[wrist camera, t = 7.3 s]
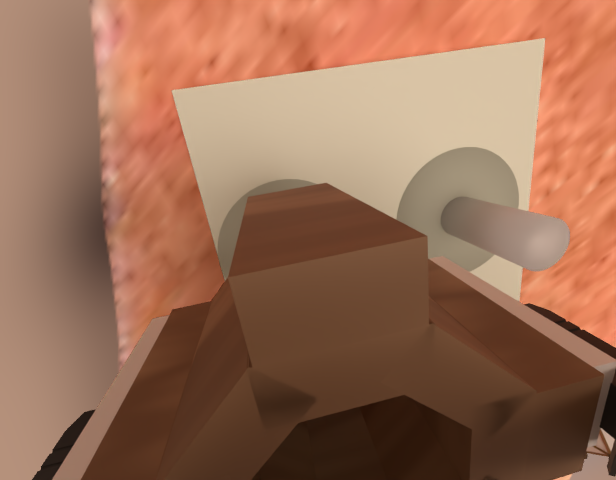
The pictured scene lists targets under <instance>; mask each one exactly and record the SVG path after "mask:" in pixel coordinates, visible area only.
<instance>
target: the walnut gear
mask: <svg viewBox="0 0 616 480" xmlns="http://www.w3.org/2000/svg"><path fill="white" fill-rule="evenodd" d="M603 379H604V374H603V373H601V372H600V371H598V370H597V369H595V368H594V367H592V366H591V365H589V364H588V363H586V362H585V361H583V360H582V359H580V358H578V357H577V356H575V355H574V354H572V353H571V352H569V351H568V350H566V349H565V348H563V347H562V346H560V345H559V344H557V343H556V342H554V341H553V340H551V339H550V338H548V337H547V336H545V335H544V334H542V333H541V332H539V331H538V330H536V329H534V328H533V327H531V326H530V325H528V324H527V323H525V322H524V321H522V320H521V319H519V318H518V317H516V316H515V315H513V314H512V313H510V312H509V311H507V310H506V309H504V308H503V307H501V306H500V305H498V304H497V303H495V302H494V301H492V300H490V299H489V298H487V297H486V296H484V295H483V294H481V293H480V292H478V291H477V290H475V289H474V288H472V287H471V286H469V285H468V284H466V283H465V282H463V281H462V280H460V279H459V278H457V277H456V276H454V275H453V274H451V273H449V272H448V271H446V270H445V269H443V268H442V267H440V266H439V265H437V264H436V263H434V262H433V261H431V260H430V259H428V236H427V235H425V234H423V233H421V232H419V231H417V230H415V229H413V228H411V227H409V226H408V225H406V224H404V223H402V222H400V221H398V220H396V219H394V218H392V217H390V216H389V215H387V214H385V213H383V212H381V211H379V210H377V209H375V208H373V207H372V206H370V205H368V204H366V203H364V202H362V201H360V200H358V199H356V198H354V197H353V196H351V195H349V194H347V193H345V192H343V191H341V190H339V189H337V188H336V187H334V186H332V185H330V184H328V183H322V184H316V185H311V186H305V187H300V188H294V189H289V190H283V191H277V192H272V193H266V194H261V195H255V196H250V197H248V199H247V203H246V207H245V211H244V215H243V219H242V223H241V227H240V231H239V235H238V239H237V243H236V247H235V251H234V255H233V259H232V263H231V267H230V271H229V275H228V278H227V279H226V280H225V282H224V283H223V285H222V286H221V288H220V289H219V291H218V292H217V293H216V295H215V296H214V298H213V299H212V301H211V302H206V303H201V304H197V305H192V306H187V307H183V308H178V309H173V310H172V312H171V314H170V315H169V317H168V319H167V321H166V323H165V325H164V327H163V328H162V330H161V332H160V334H159V336H158V338H157V340H156V341H155V343H154V345H153V347H152V349H151V351H150V352H149V354H148V356H147V358H146V360H145V362H144V364H143V365H142V367H141V369H140V371H139V373H138V375H137V377H136V378H135V380H134V382H133V384H132V386H131V388H130V389H129V391H128V393H127V395H126V397H125V399H124V401H123V402H122V404H121V406H120V408H119V410H118V412H117V414H116V415H115V417H114V419H113V421H112V423H111V425H110V426H109V428H108V430H107V432H106V434H105V436H104V438H103V439H102V441H101V443H100V445H99V447H98V449H97V451H96V452H95V454H94V456H93V458H92V460H91V462H90V463H89V465H88V467H87V469H86V471H85V473H84V475H83V476H82V478H81V480H553V479H556V478H559V477H563V476H566V475H569V474H572V473H575V472H579V471H581V470H582V466H583V462H584V458H585V454H586V450H587V446H588V442H589V437H590V433H591V429H592V425H593V421H594V417H595V412H596V408H597V404H598V400H599V396H600V392H601V388H602V383H603Z"/></svg>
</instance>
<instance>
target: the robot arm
mask: <svg viewBox="0 0 616 480" xmlns="http://www.w3.org/2000/svg"><path fill="white" fill-rule="evenodd" d="M430 260H431V261H433V262H434V263H436V264H437V265H439V266H440V267H442V268H443V269H445V270H446V271H448V272H449V273H451V274H453V275H454V276H456V277H457V278H459V279H460V280H462V281H463V282H465V283H466V284H468V285H469V286H471V287H472V288H474V289H475V290H477V291H478V292H480V293H481V294H483V295H484V296H486V297H487V298H489V299H490V300H492V301H494V302H495V303H497V304H498V305H500V306H501V307H503V308H504V309H506V310H507V311H509V312H510V313H512V314H513V315H515V316H516V317H518V318H519V319H521V320H522V321H524V322H525V323H527V324H528V325H530V326H531V327H533V328H534V329H536V330H538V331H539V332H541V333H542V334H544V335H545V336H547V337H548V338H550V339H551V340H553V341H554V342H556V343H557V344H559V345H560V346H562V347H563V348H565V349H566V350H568V351H569V352H571V353H572V354H574V355H575V356H577V357H578V358H580V359H582V360H583V361H585V362H586V363H588V364H589V365H591V366H592V367H594V368H595V369H597V370H598V371H600V372H601V373H603V374H604V379H603V383H602V388H601V392H600V396H599V400H598V404H597V408H596V412H595V417H594V421H593V425H592V429H591V433H590V437H589V442H588V446H587V448H588V447H592V446H595V445H596V443H597V439H598V436H599V432H600V428H602V429H603V430H604V431H605V432H606V433H608V434H609V435H610V436H611V437H613V438H614V439H615V440H614V444H613V447H612V451H611V454H610V458H609V462H608V465H607V468H608V472H609V475H611V476H615V475H616V348H615V347H613V346H611V345H610V344H608V343H606V342H604V341H603V340H601V339H599V338H597V337H595V336H594V335H592V334H590V333H588V332H587V331H585V330H580V328H579V327H578V326H576V325H574V324H572V323H571V322H569V321H568V322H566V320H565V319H564V318H562V317H560V316H558V315H557V314H555V313H553V312H551V311H549V310H547V309H544V308H541V307H538V306H535V305H533V304H530V303H529V304H522V303H520V302H519V301H517V300H515V299H514V298H512V297H510V296H509V295H507V294H505V293H504V292H502V291H500V290H499V289H497V288H495V287H494V286H492V285H490V284H489V283H487V282H485V281H484V280H482V279H480V278H479V277H477V276H475V275H474V274H472V273H470V272H469V271H467V270H465V269H464V268H462V267H460V266H459V265H457V264H455V263H454V262H452V261H450V260H449V259H447V258H445V257H443V256H440V257H435V258H431V259H430ZM168 317H169V315H167V316H162V317H158V318H153V319H152V321H151V322H150V324H149V325H148V327H147V329H146V330H145V332H144V333H143V335H142V337H141V338H140V340H139V341H138V343H137V345H136V346H135V348H134V349H133V351H132V353H131V354H130V356H129V357H128V359H127V361H126V362H125V364H124V365H123V367H122V369H121V370H120V372H119V373H118V375H117V377H116V378H115V380H114V381H113V383H112V385H111V386H110V388H109V389H108V391H107V393H106V394H105V396H104V397H103V399H102V401H101V403H100V404H99V405H98V407H97V409H96V410H92V411H87V412H84V413H83V414H82V415H81V416H80V417H79V418H78V419H77V420H76V421H75V422H74V423H73V424H72V425H71V426H70V427H69V428H68V429H67V430H66V431H65V432H64V434H63V435H62V437H61V438H60V440H59V441H58V443H57V444H56V446H55V447H54V449H53V452H52V454H49V456H48V457H47V459H46V460H45V462H44V463H43V465H42V466H41V470H40V471H38V472H37V474H36V475H35V476H34V478H33V479H32V480H81V478H82V476H83V475H84V473H85V471H86V469H87V467H88V465H89V463H90V462H91V460H92V458H93V456H94V454H95V452H96V451H97V449H98V447H99V445H100V443H101V441H102V439H103V438H104V436H105V434H106V432H107V430H108V428H109V426H110V425H111V423H112V421H113V419H114V417H115V415H116V414H117V412H118V410H119V408H120V406H121V404H122V402H123V401H124V399H125V397H126V395H127V393H128V391H129V389H130V388H131V386H132V384H133V382H134V380H135V378H136V377H137V375H138V373H139V371H140V369H141V367H142V365H143V364H144V362H145V360H146V358H147V356H148V354H149V352H150V351H151V349H152V347H153V345H154V343H155V341H156V340H157V338H158V336H159V334H160V332H161V330H162V328H163V327H164V325H165V323H166V321H167V319H168Z"/></svg>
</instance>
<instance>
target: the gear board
mask: <svg viewBox="0 0 616 480" xmlns="http://www.w3.org/2000/svg"><path fill="white" fill-rule="evenodd" d="M544 46H545V38H543V39H536V40H529V41H522V42H515V43H508V44H500V45H493V46H486V47H479V48H472V49H464V50H457V51H450V52H443V53H436V54H429V55H421V56H414V57H407V58H400V59H393V60H386V61H378V62H371V63H364V64H357V65H350V66H343V67H335V68H328V69H321V70H314V71H307V72H300V73H292V74H285V75H278V76H271V77H264V78H256V79H249V80H242V81H235V82H228V83H221V84H213V85H206V86H199V87H192V88H185V89H178V90H172V94H173V97H174V101H175V105H176V108H177V112H178V115H179V119H180V122H181V126H182V130H183V133H184V137H185V140H186V144H187V148H188V151H189V155H190V158H191V162H192V165H193V169H194V173H195V176H196V180H197V183H198V187H199V190H200V194H201V198H202V201H203V205H204V208H205V212H206V216H207V219H208V223H209V226H210V230H211V233H212V237H213V241H214V244H215V248H216V251H217V255H218V259H219V263H220V266H221V269H222V273H223V276H224V280H226V279H227V278H228V275H229V271H230V267H231V263H232V259H233V255H234V251H235V247H236V243H237V239H238V235H239V231H240V227H241V223H242V219H243V215H244V211H245V207H246V203H247V199H248V197H250V196H255V195H261V194H266V193H272V192H277V191H283V190H289V189H294V188H300V187H305V186H311V185H316V184H322V183H328V184H330V185H332V186H334V187H336V188H337V189H339V190H341V191H343V192H345V193H347V194H349V195H351V196H353V197H354V198H356V199H358V200H360V201H362V202H364V203H366V204H368V205H370V206H372V207H373V208H375V209H377V210H379V211H381V212H383V213H385V214H387V215H389V216H390V217H392V218H394V219H396V220H398V221H400V222H402V223H404V224H406V225H408V226H409V227H411V228H413V229H415V230H417V231H419V232H421V233H423V234H425V235H427V236H428V259H431V258H435V257H440V256H443V257H445V258H447V259H449V260H450V261H452V262H454V263H455V264H457V265H459V266H460V267H462V268H464V269H465V270H467V271H469V272H470V273H472V274H474V275H475V276H477V277H479V278H480V279H482V280H484V281H485V282H487V283H489V284H490V285H492V286H494V287H495V288H497V289H499V290H500V291H502V292H504V293H505V294H507V295H509V296H510V297H512V298H514V299H515V300H517V301H519V300H520V290H521V280H522V270H523V268H526V269H528V270H531V271H542V270H545V269H548V268H550V267H551V266H553V265H554V264H555V263H557V262H558V261H559V260H560V259H561V257H562V256H563V255H564V253H565V251H566V249H567V247H568V244H569V240H570V231H569V228H568V226H567V224H566V223H565V222H564V221H563V220H561V219H559V218H555V217H551V216H546V215H542V214H538V213H533V212H529V211H528V209H529V198H530V188H531V178H532V168H533V158H534V148H535V137H536V127H537V117H538V107H539V97H540V87H541V76H542V66H543V56H544Z"/></svg>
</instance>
